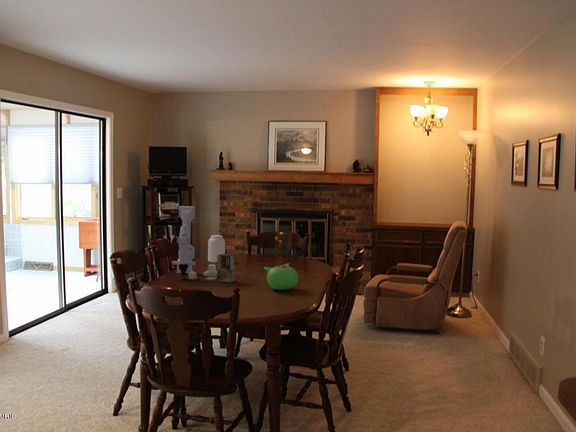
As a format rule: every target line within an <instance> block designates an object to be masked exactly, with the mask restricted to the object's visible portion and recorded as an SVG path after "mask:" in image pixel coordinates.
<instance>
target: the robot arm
mask: <svg viewBox="0 0 576 432" xmlns="http://www.w3.org/2000/svg"><path fill="white" fill-rule="evenodd" d="M195 208H196V207H195V206H193V205H192V206H189V205H188V206H187V205H185V206H184V205H180V206H179V209H178V215H179V218H180V219H181V220H182V225H181V226H180V230H179V236H178V238H177V239H178V240H177V244H178V259H177V260H173V261H171V265H172V266H173V265H176V274H180V275H181V277H184V278H185V277H186V274H188V273H190V272H193V273H195V270H193V267H194V266H196V262H195V261H193V259H195V247H194V246H193V245H192V244H191V232H192V231H191V229H192V227H191V226H192V225H191V224H192V223H191V222H192V220H194V219H195V214H196V209H195Z"/></svg>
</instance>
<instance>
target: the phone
mask: <svg viewBox="0 0 576 432" xmlns="http://www.w3.org/2000/svg"><path fill="white" fill-rule="evenodd" d="M204 281H210V282H212V281H213V282H215V281H217V277H216V276H206V278H204Z"/></svg>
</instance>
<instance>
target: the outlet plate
mask: <svg viewBox="0 0 576 432" xmlns="http://www.w3.org/2000/svg"><path fill="white" fill-rule="evenodd" d="M202 276H203V277H217V270H216V272H215V273H208V269H207V270H206V271H204V272H202Z"/></svg>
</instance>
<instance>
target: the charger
mask: <svg viewBox="0 0 576 432" xmlns="http://www.w3.org/2000/svg"><path fill="white" fill-rule="evenodd" d="M216 268H217V264H212V263H211V264H208V265H207V270H208V273H215V272H216V271H217V270H216Z"/></svg>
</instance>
